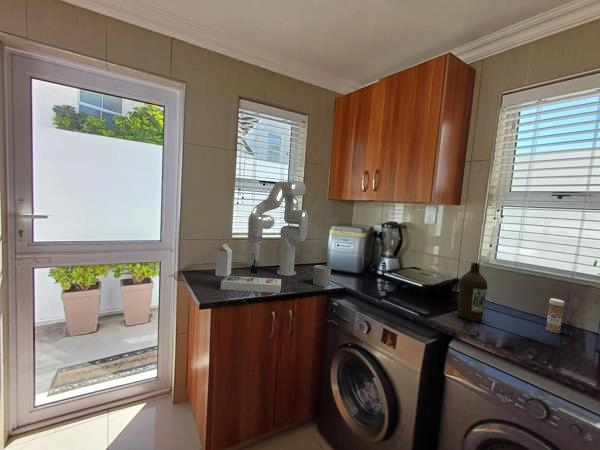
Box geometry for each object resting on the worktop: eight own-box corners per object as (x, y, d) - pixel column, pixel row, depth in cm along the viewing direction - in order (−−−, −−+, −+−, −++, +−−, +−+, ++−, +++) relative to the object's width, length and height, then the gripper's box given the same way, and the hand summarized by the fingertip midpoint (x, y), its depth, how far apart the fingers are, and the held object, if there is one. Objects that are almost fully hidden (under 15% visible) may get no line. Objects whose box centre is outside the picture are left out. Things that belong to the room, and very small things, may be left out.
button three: (248, 285, 151) (248, 277, 151) (257, 286, 151) (257, 278, 151) (246, 288, 146) (246, 279, 146) (256, 288, 146) (256, 280, 146)
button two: (229, 284, 151) (230, 276, 151) (238, 284, 151) (239, 276, 151) (227, 287, 146) (227, 278, 146) (236, 287, 146) (237, 279, 146)
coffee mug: (327, 287, 160) (328, 269, 159) (310, 284, 163) (311, 267, 162) (332, 281, 172) (334, 265, 171) (317, 279, 176) (318, 263, 175)
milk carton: (230, 274, 174) (232, 243, 172) (226, 277, 167) (228, 245, 165) (219, 273, 174) (221, 242, 173) (215, 275, 167) (216, 244, 166)
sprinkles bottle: (545, 331, 117) (549, 299, 116) (545, 327, 120) (549, 297, 119) (560, 334, 114) (565, 302, 113) (560, 331, 117) (564, 300, 116)
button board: (226, 282, 155) (226, 275, 154) (280, 286, 155) (281, 279, 155) (220, 289, 143) (221, 281, 142) (279, 293, 143) (280, 285, 143)
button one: (266, 286, 152) (267, 278, 151) (275, 287, 152) (276, 279, 151) (265, 289, 147) (266, 281, 146) (275, 290, 147) (275, 281, 146)
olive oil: (450, 313, 131) (456, 260, 129) (469, 312, 133) (475, 260, 131) (469, 322, 120) (475, 265, 119) (489, 322, 123) (496, 265, 121)
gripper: (250, 236, 155) (249, 269, 157) (245, 240, 140) (244, 276, 142) (263, 237, 155) (262, 269, 157) (260, 241, 140) (258, 277, 142)
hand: (253, 273), depth 149 cm, fingers closed
